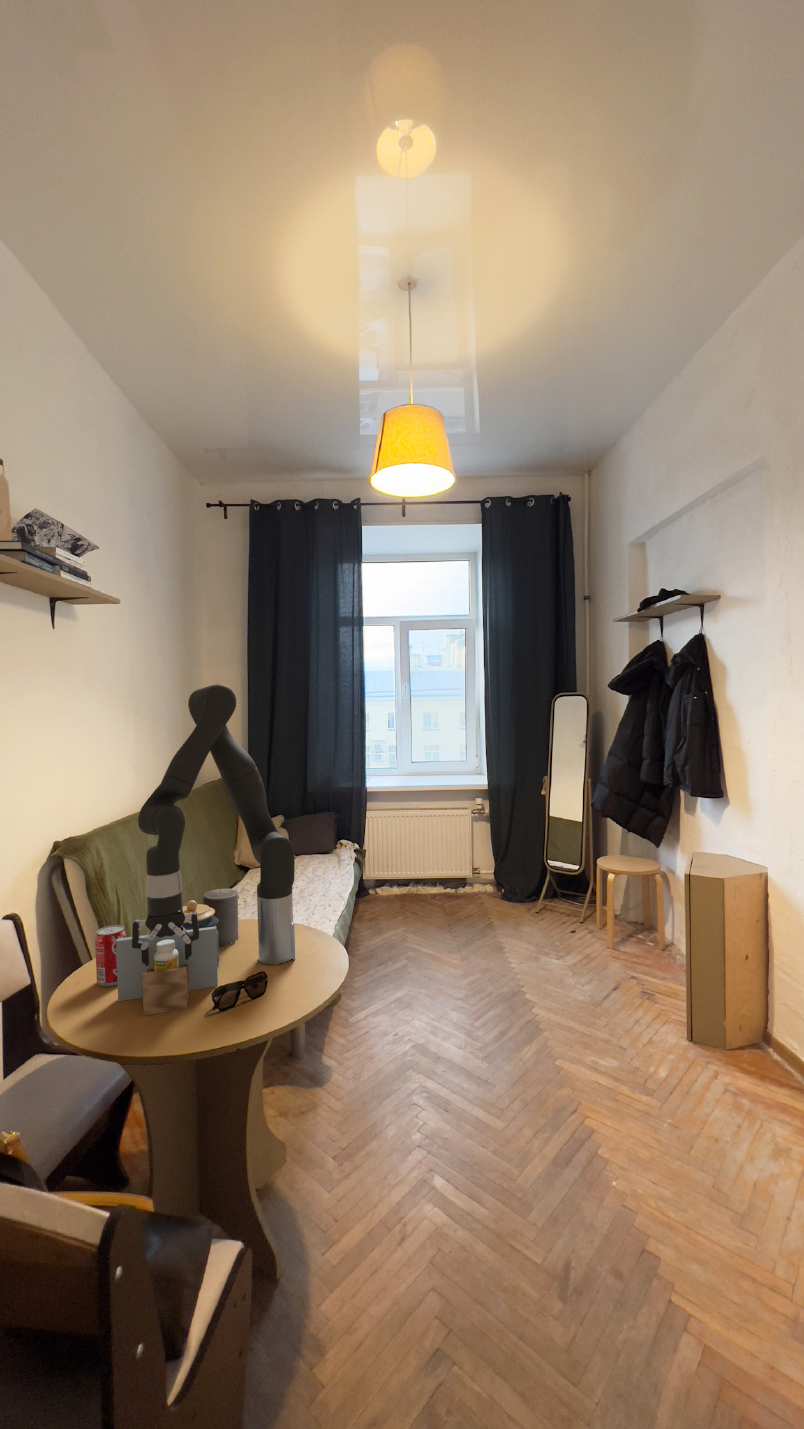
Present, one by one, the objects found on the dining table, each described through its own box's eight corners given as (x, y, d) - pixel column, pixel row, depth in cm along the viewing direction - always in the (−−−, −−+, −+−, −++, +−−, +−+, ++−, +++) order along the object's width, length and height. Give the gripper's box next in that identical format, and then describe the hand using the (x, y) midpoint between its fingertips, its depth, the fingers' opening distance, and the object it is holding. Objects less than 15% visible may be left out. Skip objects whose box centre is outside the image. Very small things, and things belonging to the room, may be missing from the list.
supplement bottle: (181, 977, 142) (179, 936, 142) (178, 987, 137) (176, 945, 136) (156, 980, 141) (155, 939, 140) (152, 990, 135) (151, 948, 135)
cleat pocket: (189, 990, 144) (188, 953, 144) (187, 1008, 135) (185, 968, 135) (148, 996, 141) (147, 958, 141) (143, 1015, 133) (142, 974, 132)
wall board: (217, 983, 147) (216, 926, 147) (217, 986, 146) (215, 928, 145) (119, 998, 141) (117, 938, 140) (118, 1001, 139) (116, 941, 139)
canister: (185, 956, 164) (183, 891, 163) (229, 959, 161) (227, 893, 161) (156, 977, 151) (153, 907, 151) (203, 981, 148) (201, 910, 148)
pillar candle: (197, 946, 170) (196, 893, 170) (213, 933, 180) (212, 883, 180) (229, 948, 169) (228, 895, 168) (244, 934, 178) (243, 884, 178)
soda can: (116, 989, 145) (114, 935, 145) (90, 987, 147) (88, 934, 147) (134, 975, 152) (133, 924, 152) (109, 974, 154) (107, 923, 154)
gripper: (197, 883, 144) (200, 950, 144) (132, 890, 139) (135, 959, 140) (196, 892, 136) (199, 963, 137) (128, 900, 132) (131, 973, 133)
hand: (167, 961), depth 138 cm, fingers open, 8 cm apart
